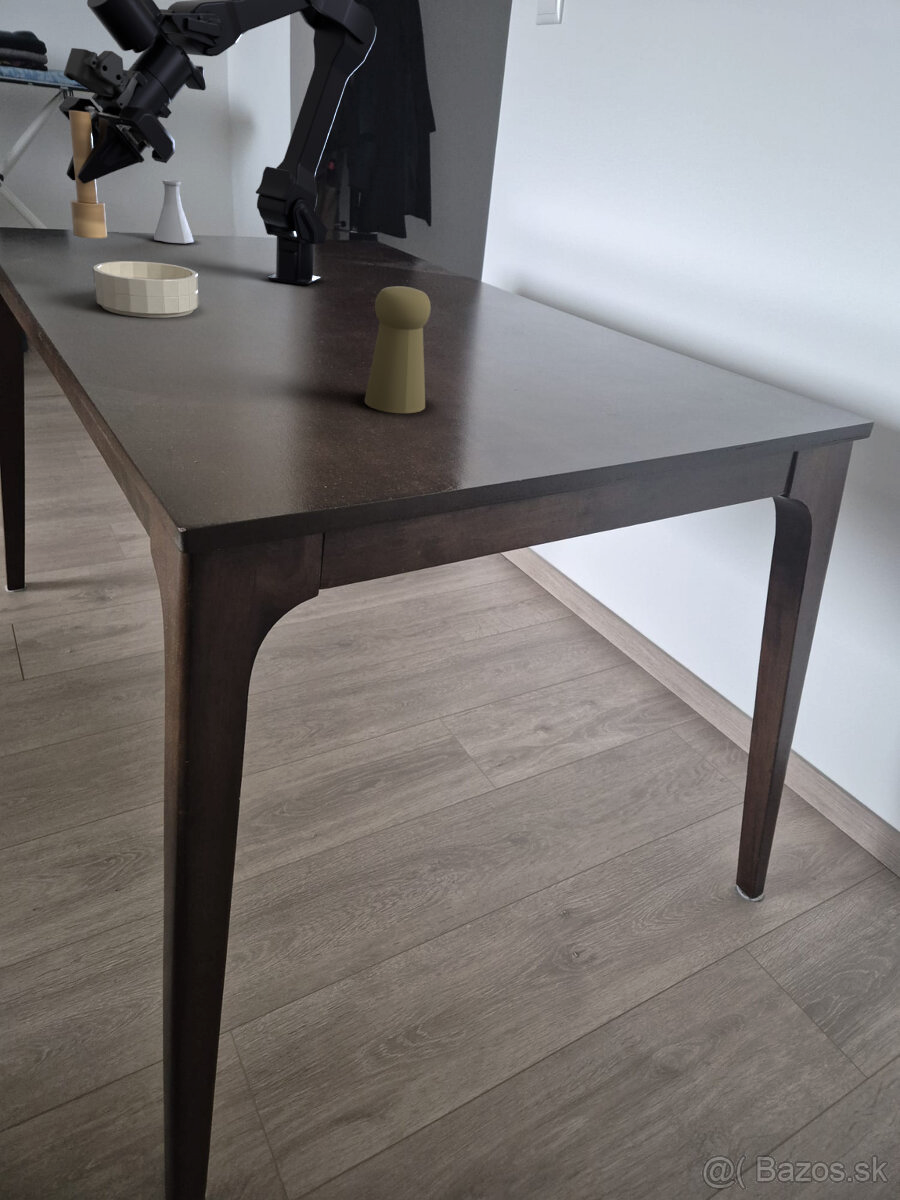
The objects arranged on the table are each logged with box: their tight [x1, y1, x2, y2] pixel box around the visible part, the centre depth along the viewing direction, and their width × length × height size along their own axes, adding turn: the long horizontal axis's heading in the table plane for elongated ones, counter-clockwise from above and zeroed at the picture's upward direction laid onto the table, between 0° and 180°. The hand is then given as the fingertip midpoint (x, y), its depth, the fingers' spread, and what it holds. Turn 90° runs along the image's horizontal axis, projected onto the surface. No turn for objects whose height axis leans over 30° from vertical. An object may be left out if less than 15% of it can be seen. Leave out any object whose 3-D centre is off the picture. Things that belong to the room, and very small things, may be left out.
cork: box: [364, 285, 432, 414], centre depth 83 cm, size 6×6×11 cm
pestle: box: [69, 110, 108, 239], centre depth 108 cm, size 4×4×14 cm
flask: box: [153, 179, 195, 244], centre depth 155 cm, size 7×7×10 cm
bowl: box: [92, 260, 200, 319], centre depth 109 cm, size 12×12×4 cm
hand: (75, 179), depth 107 cm, fingers closed on pestle, 2 cm apart
